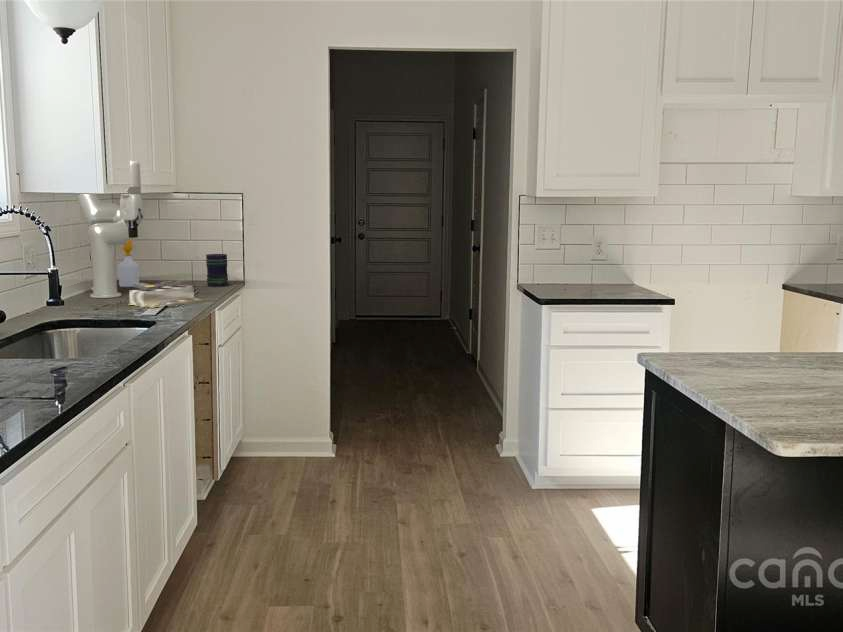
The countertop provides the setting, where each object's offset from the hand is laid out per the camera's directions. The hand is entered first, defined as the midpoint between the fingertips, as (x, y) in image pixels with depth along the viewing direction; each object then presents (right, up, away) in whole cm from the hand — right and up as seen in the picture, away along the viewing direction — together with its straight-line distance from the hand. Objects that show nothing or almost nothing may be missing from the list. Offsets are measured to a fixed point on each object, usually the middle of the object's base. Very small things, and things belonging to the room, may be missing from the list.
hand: (133, 237), depth 347 cm
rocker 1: (+6, -20, -5) cm, 21 cm away
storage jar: (+19, -18, +63) cm, 68 cm away
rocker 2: (+16, -18, +8) cm, 25 cm away
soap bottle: (-23, -18, +62) cm, 69 cm away
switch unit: (+13, -27, +1) cm, 30 cm away
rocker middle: (+11, -19, +2) cm, 22 cm away
